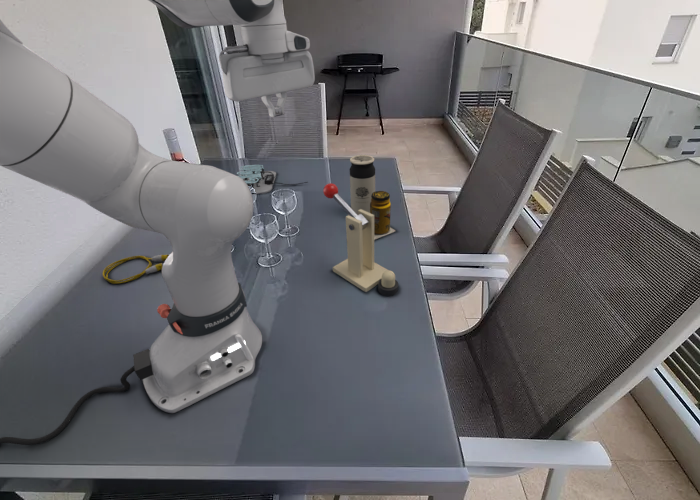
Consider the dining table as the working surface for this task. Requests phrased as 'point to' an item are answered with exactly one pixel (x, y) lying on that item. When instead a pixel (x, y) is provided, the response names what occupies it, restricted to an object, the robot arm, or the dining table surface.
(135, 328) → the dining table surface
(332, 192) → the switch lever
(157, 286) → the dining table surface
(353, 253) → the switch bracket
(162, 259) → the extension cord
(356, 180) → the travel mug
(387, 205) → the condiment
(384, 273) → the pilot lamp
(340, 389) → the dining table surface
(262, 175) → the neon sign
